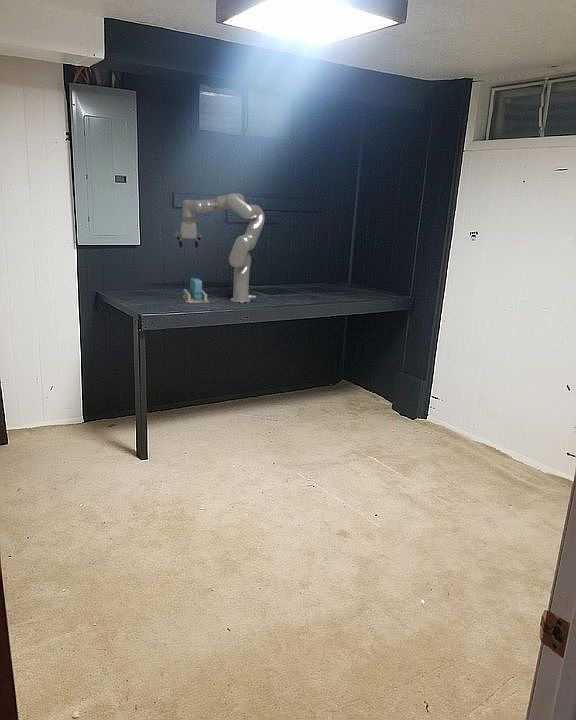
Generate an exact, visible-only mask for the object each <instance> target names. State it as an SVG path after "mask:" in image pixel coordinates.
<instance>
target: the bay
mask: <svg viewBox="0 0 576 720" xmlns="http://www.w3.org/2000/svg"><path fill="white" fill-rule="evenodd" d="M181 297H183V298H182V299H183V300H185V301H184V302H185V303H186V302H189V304H190V303H191V304H194V303H195V304H197V303H198V304H201V303H202V304H207V303H208V304H209V303H210V301H209V300H208V294H207V293H206V292H205V291H204V289H202V299H201V300H194V299H193V298H191V295H190V291H188V290H187V289H186V288H183V295H181Z"/></svg>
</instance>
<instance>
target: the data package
mask: <svg viewBox="0 0 576 720" xmlns="http://www.w3.org/2000/svg"><path fill="white" fill-rule="evenodd" d="M202 290H203V281H202V280H201V279H199V278H197V277H196V278H195V277H191V278H190V279H189V293H190V295H191V298H193V299H194V300H201V299H202Z"/></svg>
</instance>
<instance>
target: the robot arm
mask: <svg viewBox="0 0 576 720" xmlns="http://www.w3.org/2000/svg"><path fill="white" fill-rule="evenodd" d="M226 210H231V211H233V212H234V213H235V214H237V215H238V216H240V217H241V218H242V219H244V220H250V221H249V223H248V225H247V226H246V230H245V232H244V234H242V235H239V236H238V237H237V238H236V239H235V241H234V244H233V246H232V249H231V250H230V253H229V257H228V263H229V265H230V266H231V267H233V268H234V269H233V291H232V294H233V295H232V297H231V298H230V302H233V303H238V302H240V303H239V304H242V303H243V304H244V302H247V303H250V302H251V299H256V297H257V296H256V295H253V294H250V293H249V292H250V291H249V288H250V285H249V284H250V282H249V281H250V270H251V263H252V257H251V254H250V252H249V251H251V250H253V249H254V248H255V247H256V245H257V242H258V239H259V237H260V234H261V231H262V229H263V226H264V224H265V219H266V218H265V217H266V216H265V213H264V211H263V209H262V208H261V206H259V205H257V204H249V203H247V201H246V200H245V197H244V195H243V194H241V193H238V192H233V193H232V192H231V193H229V194H225V195H218V196H217V197H215V198H211V199H201V200H200V199H199V200H198V199H197V200H194V199H183V201H182V221H181V223H180V227H179V228H180V230H179V231H177V232H175V233H174V235H175V238H176V239H177V241H178V246H179V247H180V248H183V246H182V245H183V243H182V240H183V239H194V240H195V241H194V248H195V249H197V248H198V247H199V241H200V240H201V239H202V237H203V234H201V233H200V232H199V231H198V229H197V223H196V222H197V221H198V218H196V213H197V214H199V213H200V214H201V213H202V214H203V213H210V212H217V211H226ZM178 235H179V236H180V237H179V236H178ZM197 236H198V237H197Z"/></svg>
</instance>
